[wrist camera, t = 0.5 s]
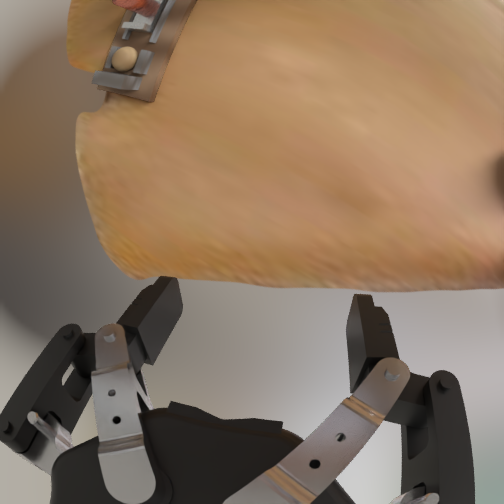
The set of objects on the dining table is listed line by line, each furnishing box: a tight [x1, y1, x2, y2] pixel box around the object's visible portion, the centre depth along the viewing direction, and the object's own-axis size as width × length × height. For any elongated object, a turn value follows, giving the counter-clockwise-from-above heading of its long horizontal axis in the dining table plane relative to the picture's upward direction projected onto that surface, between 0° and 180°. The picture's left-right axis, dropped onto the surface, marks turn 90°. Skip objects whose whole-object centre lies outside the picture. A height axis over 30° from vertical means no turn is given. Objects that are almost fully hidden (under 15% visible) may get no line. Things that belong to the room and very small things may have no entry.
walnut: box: [112, 47, 138, 71], centre depth 28 cm, size 4×4×4 cm
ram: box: [112, 0, 168, 33], centre depth 22 cm, size 6×4×8 cm, turn 158°
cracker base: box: [92, 0, 197, 102], centre depth 27 cm, size 18×11×6 cm, turn 158°
